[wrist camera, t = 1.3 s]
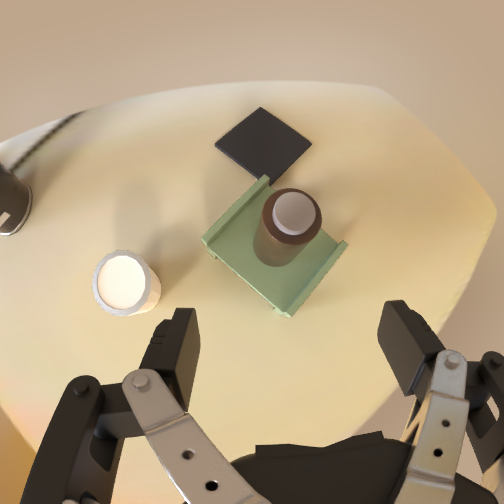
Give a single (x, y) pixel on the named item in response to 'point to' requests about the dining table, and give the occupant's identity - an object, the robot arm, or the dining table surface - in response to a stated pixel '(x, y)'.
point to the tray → (256, 272)
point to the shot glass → (125, 284)
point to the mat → (263, 145)
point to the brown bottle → (286, 226)
